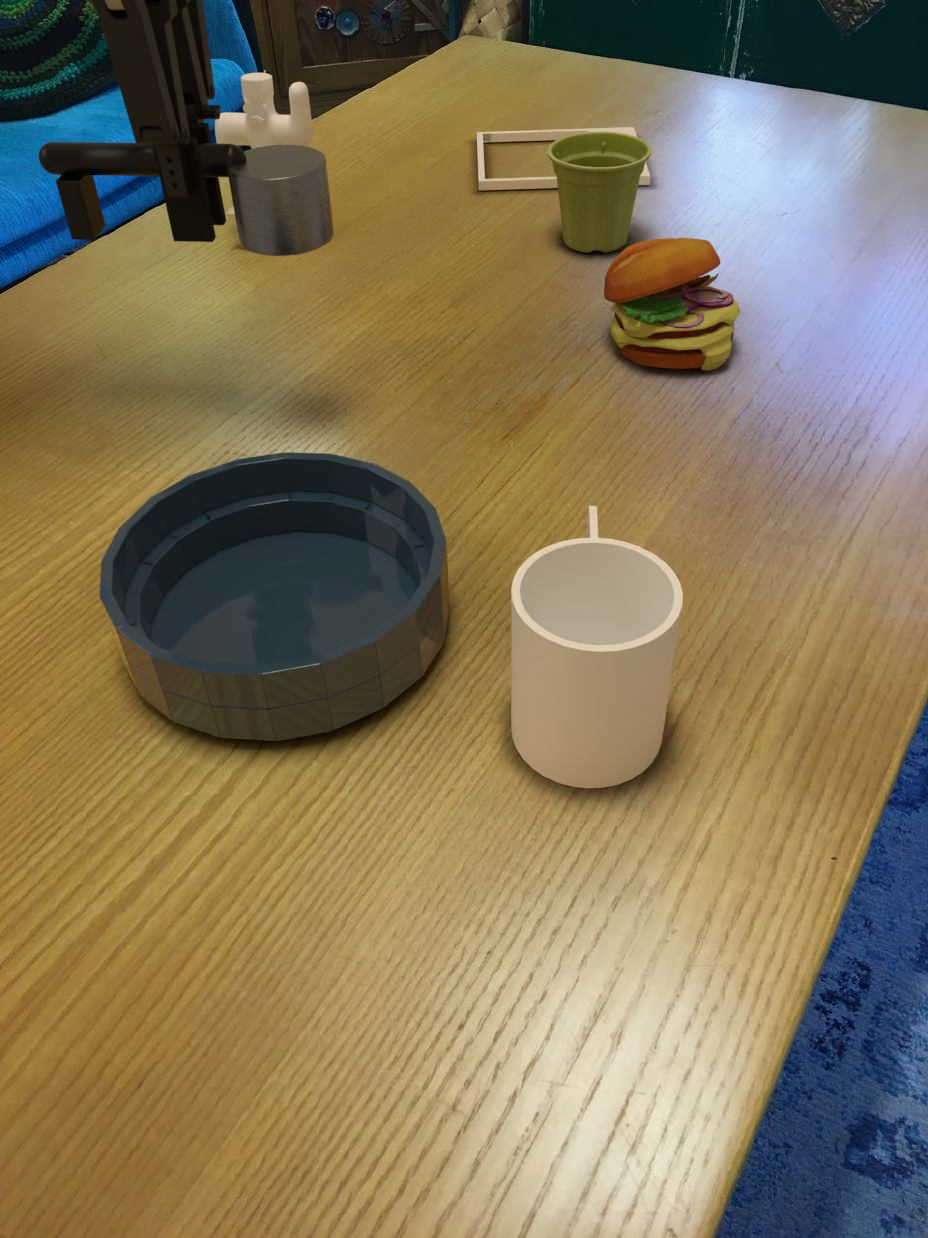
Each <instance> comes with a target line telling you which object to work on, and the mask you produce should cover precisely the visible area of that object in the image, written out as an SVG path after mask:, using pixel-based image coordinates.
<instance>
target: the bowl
mask: <svg viewBox="0 0 928 1238" xmlns="http://www.w3.org/2000/svg"><path fill="white" fill-rule="evenodd" d="M449 584H450V583H449V565H448V548H447V537H446V535H445V533H444V528H443V526H442V523H441V520H440V516H439V514H438V510H437V509H436V507H435V506H434V505H433V504H432V503H431V502H430V501H429V500H428V499H427V497H425V496H424V495H423V494H422V492H421V491H420V490H419V489H418V488H417V487H416V486H415V485H414V484H413V483H412V482H410V481H409V480H407V479H405V478H403V477H402V476H400V475H397V474H396V473H394V472H393V471H390V470H388V469H386V468H384V467H383V466H380V465H378V464H377V463H376V464H375V463H373V462H368V461H365V460H360V459H357V458H356V459H355V458H352V457H347V456H343V455H339V454H334V453H322V452H321V453H320V452H294V451H293V452H291V451H289V452H288V451H286V452H278V453H271V454H263V455H257V456H250V457H244V458H243V457H242V458H238V459H234V460H231V461H228V462H225V463H222V464H219V465H216V466H213V467H210V468H207V469H204V470H202V471H198V472H195V473H192V474H189V475H187V476H186V477H184V478H182V479H181V480H179V481H177V482H175V483H174V484H171V485H170V486H168V487H167V488H165V489H163V490H162V491H160V492H158V493H156V494H154V495H153V496H151V497H149V498H148V500H147V501H145V502H144V503H143V504H142V505H141V506H140V507H139V508H138V509H137V510H136V511H135V512H134V513H133V514H132V515H130V517H128V518H127V519H126V521H124V522H123V523H122V524H121V525H120V526H119V527H118V529H117V531H116V532H115V535H114V536H113V538H112V540H111V542H110V544H109V546H108V547H107V550H106V552H105V554H104V555H103V557H102V559H101V561H100V578H99V599H100V602H101V605H102V608H103V611H104V614H105V616H106V619H107V622H108V624H109V627H110V630H111V633H112V635H113V638H114V641H115V645H116V646H117V650H118V652H119V655H120V658H121V661H122V663H123V665H124V667H125V670H126V671H127V673H128V675H129V677H130V679H131V681H132V684H133V686H134V687H135V689H136V691H137V693H138V695H139V697H141V698H142V699H144V700H145V701H146V702H147V703H149V704H150V705H151V706H152V707H153V708H155V710H157V711H159V712H160V713H161V714H163V715H164V716H165V717H166V718H168V719H169V720H170V721H171V722H173V723H175V724H178V725H181V726H185V727H187V728H190V729H193V730H196V731H198V732H202V733H204V734H206V735H207V734H208V735H211V736H213V737H216V738H220V739H231V740H232V739H236V740H251V741H252V740H253V741H255V740H256V741H270V742H272V741H273V742H280V741H286V740H291V739H297V738H303V737H307V736H312V735H319V734H324V733H328V732H333V731H335V730H338V729H340V728H342V727H344V726H346V725H350V724H351V723H353V722H356V721H357V720H360V719H363V718H365V717H367V716H369V715H371V714H374V713H376V712H378V711H380V710H383V708H386V707H387V706H388V705H389V704H390V703H392V702H393V701H394V700H395V699H397V698H398V697H399V696H400V695H402V694H403V693H404V692H406V690H407V689H409V688H410V687H412V686H413V685H414V684H415V683H417V682H418V680H420V679H421V678H422V677H423V676H424V674H425V673H426V671H427V670H428V668H429V667H430V665H431V663H432V662H433V660H434V659H435V657H436V656H437V653H439V651H440V649H441V648H442V646H443V645H444V642H445V639H446V632H447V628H448V627H447V626H448V620H449V615H450V607H451V606H450V605H451V603H450V587H449Z"/></svg>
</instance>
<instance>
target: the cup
mask: <svg viewBox="0 0 928 1238" xmlns="http://www.w3.org/2000/svg"><path fill="white" fill-rule="evenodd" d="M598 521H599V520H598V507H597V505H588V507H587V521H586V535H585V537H577V538H571V539H566V540H562V541H559V542H556V543H552V544H550V545H547V546H546V547H543V548H541V549H539V550H537V551H536V552H535V553H533V554H531V555H530V556H529V557H528V558H527V559H525V561H524V562H523V563H522V564H521V565H520V566H519V567H518V569H517V571H516V572H515V574H514V576H513V578H512V584H511V589H510V594H511V595H510V597H511V599H510V606H511V607H510V615H511V617H510V627H511V629H510V631H511V632H510V654H511V655H510V659H511V660H510V664H511V665H510V668H511V669H510V677H511V678H510V682H511V683H510V704H511V705H510V728H511V738H512V741H513V744H514V746H515V749H516V751H517V752H518V754H519V755H520V757H521V759H522V760H523V761H524V762H525V763H526V764H527V765H528V766H529V767H530V768H531V769H532V770H533V771H535V772H537V774H539V775H541V776H543V777H544V778H546V779H549V780H551V781H552V782H555V783H557V784H561V785H565V786H567V787H568V786H569V787H572V788H581V789H604V788H609V787H614V786H618V785H621V784H624V783H625V782H628V781H631V780H633V779H634V778H636V777H638V776H639V775H640V774H642V773H643V772H645V771H646V769H648V768H649V767H650V766H651V765H652V764H653V762H654V760H655V759H656V758H657V756H658V754H659V753H660V749H661V746H662V742H663V737H664V730H665V724H666V718H667V717H666V715H667V710H668V703H669V697H670V690H671V683H672V676H673V671H674V663H675V657H676V651H677V645H678V644H677V643H678V637H679V630H680V623H681V617H682V612H683V611H682V610H683V604H684V603H683V601H684V600H683V599H684V593H683V589H682V584H681V581H680V580H679V578H678V576H677V575H676V573H675V572H674V570H673V569H672V568H671V567H670V566H669V565H668V564H667V563H666V562H665V561H664V560H663V559H662V558H660V557H658V556H657V555H656V554H654V553H653V552H651V551H649V550H647V549H645V548H643V547H642V546H639V545H636V544H633V543H630V542H628V541H624V540H619V539H613V538H604V537H599V522H598Z"/></svg>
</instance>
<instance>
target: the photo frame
mask: <svg viewBox="0 0 928 1238" xmlns="http://www.w3.org/2000/svg"><path fill="white" fill-rule="evenodd" d="M635 129H636V128H635V127H634V126H624V127H622V126H621V127H620V126H619V127H595V128H593V127H592V128H590V127H589V128H562V129H531V130H504V131H503V130H501V131H477V132H476V150H477V151H476V152H477V176H478V180H477V181H478V191H497V190H498V191H502V190H531V189H533V190H534V189H558V185H557V176H533V177H532V176H531V177H503V178H486V174H485V172H486V171H485V152H484V151H485V150H484V143H502V142H503V143H504V142H505V143H506V142H507V143H508V142H535V141H539V142H540V141H556V140H558V139H560V138H562V137H565V136H569V135H573V134H578V133H584V132H617V133H621V134H628V135H632V136H635V137H638V135H637V132H636V130H635ZM650 185H651V173H650V170H649V168H648V165H647V161H646V162H645V166H644V170H643V172H642V174H641V175H640V179H639V184H638V186H650Z"/></svg>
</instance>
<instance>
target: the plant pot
mask: <svg viewBox="0 0 928 1238" xmlns="http://www.w3.org/2000/svg"><path fill="white" fill-rule="evenodd" d="M651 155H652V147H651V145H650V144H649V143H648V142H647V141H646V140H644V139H643V138H640V137H638V136H637V137H635V136H632V135H628V134H621V133H617V132H584V133H578V134H573V135H569V136H565V137H562V138H560V139H558V140H553V141H552V142H551V144H550V145H549V146H548V148H547V157H548V159H549V160H550V161H551V162H552V168H553V172H554V174H555V177H557V185H558V188H557V193H558V201H559V202H558V203H559V210H560V211H559V212H560V220H561V231H562V238H563V242H564V244H565V245H566V246H567V247H568V248H570V249H572V250H574V251H577V252H581V253H587V254H589V253H591V252H593V251H600V252H602V253H610V252H613V251H616V250H619V249H621V248H622V247H624V246H625V245H626V244H627V241H628V237H629V232H630V227H631V223H632V222H631V221H632V216H633V211H634V207H635V203H636V202H635V201H636V198H637V192H638V188H639V185H638V184H639V179H640V175H641V174H642V172H643V170H644V166H645V162H646V163H647V161H648V160H649V159H650V157H651Z"/></svg>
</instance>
